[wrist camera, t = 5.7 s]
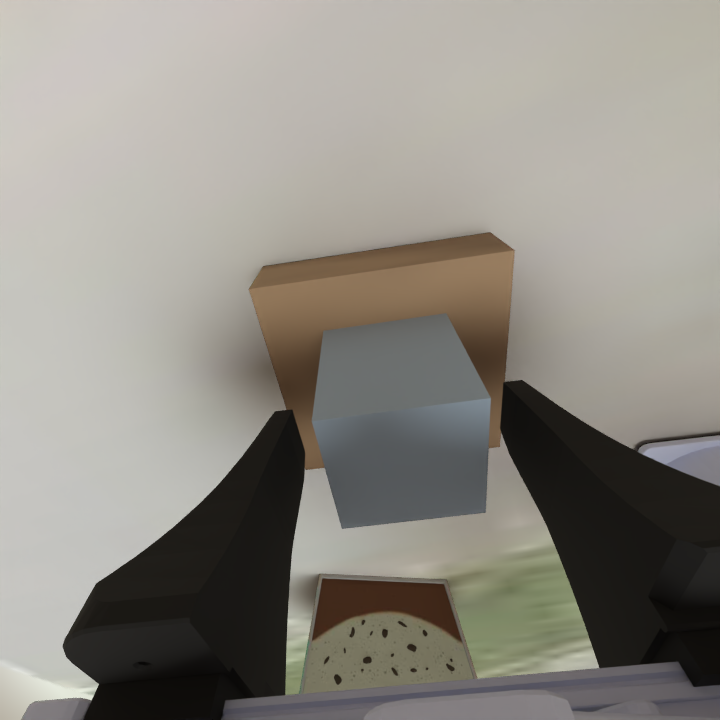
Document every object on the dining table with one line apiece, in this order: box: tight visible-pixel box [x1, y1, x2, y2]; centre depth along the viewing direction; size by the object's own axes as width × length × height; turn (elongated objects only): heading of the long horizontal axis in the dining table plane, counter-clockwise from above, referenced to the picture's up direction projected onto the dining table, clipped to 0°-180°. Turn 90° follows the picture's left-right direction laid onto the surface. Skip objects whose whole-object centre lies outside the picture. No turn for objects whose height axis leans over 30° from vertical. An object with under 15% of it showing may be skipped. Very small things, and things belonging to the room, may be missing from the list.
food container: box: [299, 574, 477, 694], centre depth 25 cm, size 12×6×10 cm, turn 83°
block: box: [312, 313, 491, 529], centre depth 13 cm, size 4×4×5 cm
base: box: [249, 233, 515, 470], centre depth 16 cm, size 9×9×2 cm
